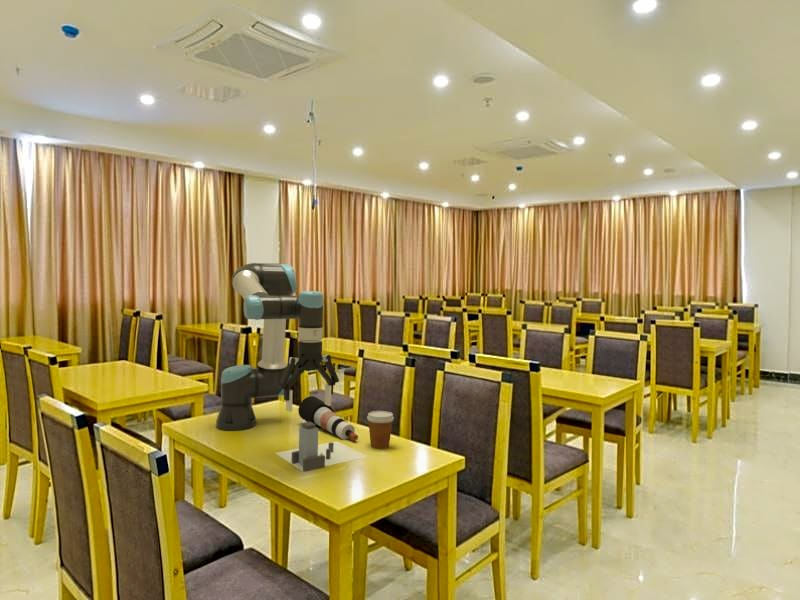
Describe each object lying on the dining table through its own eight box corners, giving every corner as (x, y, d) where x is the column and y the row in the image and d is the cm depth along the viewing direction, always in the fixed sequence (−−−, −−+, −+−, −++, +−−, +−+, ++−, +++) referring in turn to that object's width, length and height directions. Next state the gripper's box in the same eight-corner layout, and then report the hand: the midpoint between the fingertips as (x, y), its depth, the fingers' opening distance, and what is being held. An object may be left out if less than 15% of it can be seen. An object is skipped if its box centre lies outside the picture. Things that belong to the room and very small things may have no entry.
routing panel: (274, 454, 182) (274, 442, 182) (336, 442, 196) (336, 431, 196) (303, 473, 166) (303, 460, 165) (368, 458, 180) (368, 446, 180)
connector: (298, 463, 172) (299, 422, 172) (309, 461, 175) (310, 420, 174) (306, 468, 168) (306, 426, 168) (317, 465, 171) (318, 424, 170)
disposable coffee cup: (379, 453, 186) (380, 419, 185) (360, 447, 192) (361, 413, 191) (398, 447, 193) (399, 414, 192) (379, 441, 199) (380, 409, 198)
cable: (349, 456, 195) (340, 435, 191) (303, 425, 221) (294, 405, 217) (370, 440, 200) (362, 418, 196) (323, 410, 226) (315, 391, 222)
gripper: (278, 344, 159) (277, 416, 160) (350, 339, 174) (348, 405, 176) (267, 341, 165) (266, 410, 166) (338, 337, 180) (336, 400, 181)
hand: (308, 407), depth 171 cm, fingers open, 13 cm apart
